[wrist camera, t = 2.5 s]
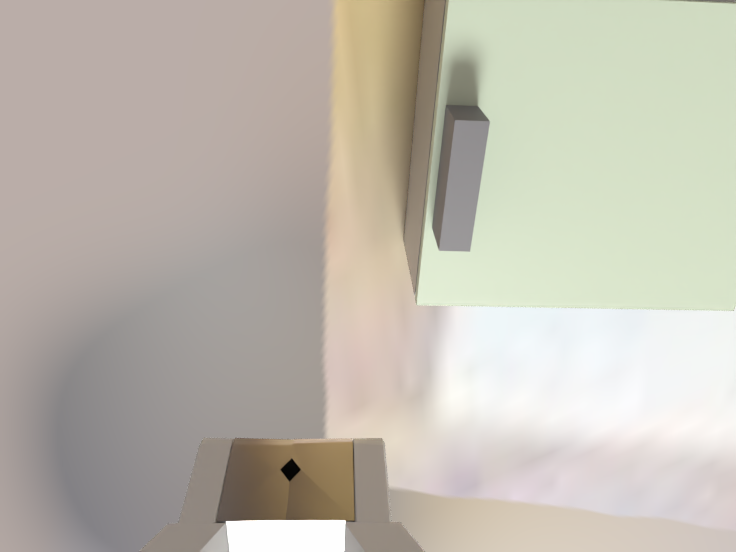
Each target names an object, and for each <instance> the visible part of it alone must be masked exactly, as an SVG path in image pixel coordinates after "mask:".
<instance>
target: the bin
mask: <svg viewBox="0 0 736 552" xmlns="http://www.w3.org/2000/svg"><path fill="white" fill-rule="evenodd" d="M696 1H716V2H736V0H696ZM445 5H446V0H425V2H424V14H423V25H422V37H421V48H420V60H419V71H418V83H417V94H416V105H415V117H414V128H413V140H412V151H411V163H410V174H409V186H408V197H407V209H406V220H405V232H404V246H405V251H406V255H407V260H408V265H409V270H410V275H411V280H412V285H413V290H414V295H415V293H416V283H417V274H418V264H419V255H420V245H421V235H422V226H423V216H424V207H425V197H426V187H427V178H428V168H429V158H430V149H431V139H432V130H433V120H434V110H435V101H436V91H437V82H438V72H439V62H440V53H441V43H442V33H443V24H444V14H445Z"/></svg>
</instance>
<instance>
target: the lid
mask: <svg viewBox="0 0 736 552" xmlns="http://www.w3.org/2000/svg"><path fill="white" fill-rule="evenodd" d="M415 300H416V305H433V306H489V307H545V308H601V309H657V310H713V311H734V309H735V307H736V2H716V1H696V0H446V5H445V14H444V24H443V33H442V43H441V53H440V62H439V72H438V82H437V91H436V101H435V110H434V120H433V130H432V139H431V149H430V158H429V168H428V178H427V187H426V197H425V207H424V216H423V226H422V235H421V245H420V255H419V264H418V274H417V283H416V293H415Z"/></svg>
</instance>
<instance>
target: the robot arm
mask: <svg viewBox="0 0 736 552" xmlns="http://www.w3.org/2000/svg"><path fill="white" fill-rule="evenodd" d="M139 552H425V551H424V550H423V548H422V547H421V546H420V545H419V544H418V542H417V541H416V540H415V539H414V537H413V536H412V535H411V534H410V532H409V531H408V530H407V529H406V528H405V526H404V525H403V524H402V523H401V522H392V520H391V509H390V499H389V487H388V475H387V464H386V453H385V443H384V441H383V439H382V438H366V439H353V441H352V438H350V439H294V440H290V439H253V438H252V439H251V438H235V439H232V438H204V439H203V440H202V442H201V444H200V445H199V448H198V452H197V455H196V459H195V463H194V466H193V470H192V473H191V478H190V481H189V484H188V489H187V492H186V496H185V499H184V503H183V506H182V510H181V513H180V517H179V521H178V523H168V524H167V525H166V526H165V527H164V528H163V529H162V530H161V531H160V532H159V533H158V534H157V535H156V536H155V537H154V538H153V539H151V540H150V541H149V542H148V543H147V545H145V546H144V547H143V548H142V549H141V550H140V551H139Z"/></svg>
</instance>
